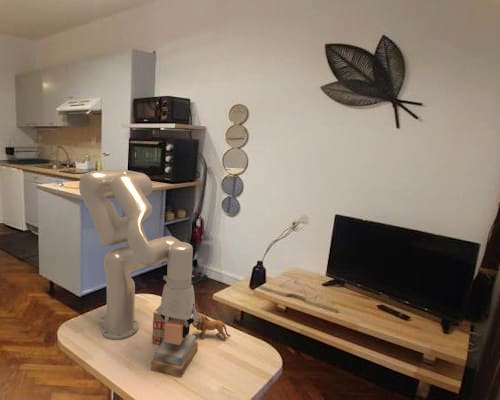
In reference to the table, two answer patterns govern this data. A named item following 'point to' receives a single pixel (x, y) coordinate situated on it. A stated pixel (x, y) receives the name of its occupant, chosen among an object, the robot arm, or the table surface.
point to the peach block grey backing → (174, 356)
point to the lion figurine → (210, 326)
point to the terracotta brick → (174, 331)
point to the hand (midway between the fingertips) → (177, 333)
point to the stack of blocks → (158, 328)
